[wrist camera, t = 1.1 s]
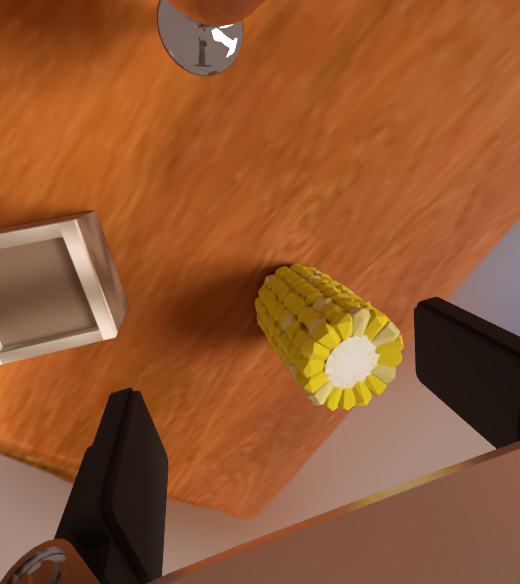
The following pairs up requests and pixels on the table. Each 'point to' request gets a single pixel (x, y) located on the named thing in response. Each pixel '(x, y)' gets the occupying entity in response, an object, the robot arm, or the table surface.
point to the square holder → (57, 287)
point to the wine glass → (204, 32)
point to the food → (328, 337)
